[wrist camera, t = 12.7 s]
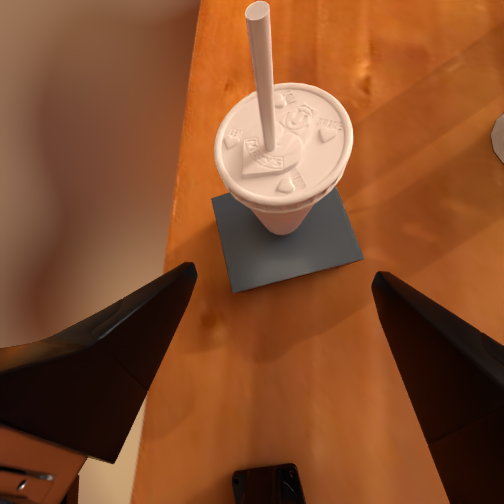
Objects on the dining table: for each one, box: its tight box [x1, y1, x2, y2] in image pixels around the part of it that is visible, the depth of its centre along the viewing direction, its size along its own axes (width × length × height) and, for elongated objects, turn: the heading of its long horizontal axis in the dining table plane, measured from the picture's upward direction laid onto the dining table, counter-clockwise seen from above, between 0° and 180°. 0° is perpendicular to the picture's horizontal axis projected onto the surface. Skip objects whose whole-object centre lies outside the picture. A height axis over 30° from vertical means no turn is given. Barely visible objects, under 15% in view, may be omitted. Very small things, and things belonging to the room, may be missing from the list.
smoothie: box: [214, 1, 353, 235], centre depth 11 cm, size 6×6×14 cm
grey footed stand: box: [212, 185, 364, 293], centre depth 20 cm, size 10×12×4 cm
